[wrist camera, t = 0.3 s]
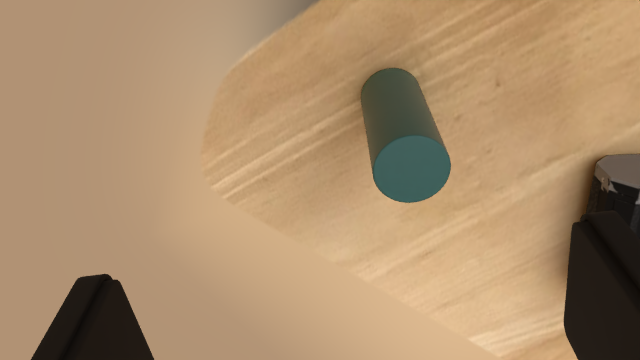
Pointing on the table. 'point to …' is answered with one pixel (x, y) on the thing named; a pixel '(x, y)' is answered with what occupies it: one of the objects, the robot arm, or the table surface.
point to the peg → (402, 138)
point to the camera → (617, 188)
